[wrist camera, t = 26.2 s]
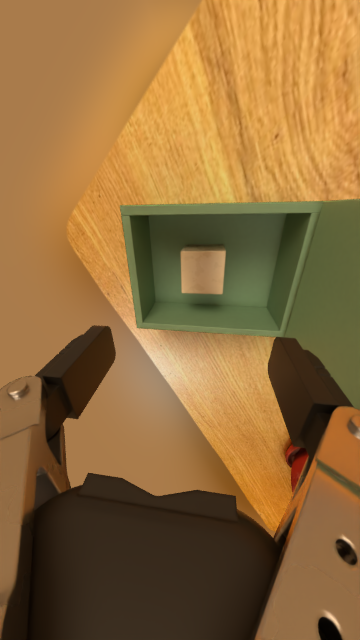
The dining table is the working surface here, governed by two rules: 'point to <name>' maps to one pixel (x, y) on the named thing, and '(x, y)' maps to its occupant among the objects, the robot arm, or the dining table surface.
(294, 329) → the lunchbox lid
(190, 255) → the wooden block
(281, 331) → the box
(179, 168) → the dining table surface
